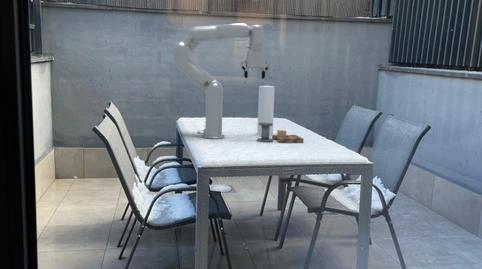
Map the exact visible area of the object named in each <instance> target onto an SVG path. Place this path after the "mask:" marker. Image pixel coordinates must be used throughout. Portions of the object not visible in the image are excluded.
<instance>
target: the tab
mask: <svg viewBox="0 0 482 269" xmlns="http://www.w3.org/2000/svg"><path fill="white" fill-rule="evenodd" d="M276 135H277V137H286V135H287V130H285V129H277V132H276Z"/></svg>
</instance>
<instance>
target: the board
mask: <svg viewBox="0 0 482 269" xmlns="http://www.w3.org/2000/svg"><path fill="white" fill-rule="evenodd" d="M271 139H273V141H276V143H278V144H304V139H305V138H303V137H301V136H299V135H297V134H286V137H277V134H273V135H272V136H271Z"/></svg>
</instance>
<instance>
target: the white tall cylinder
mask: <svg viewBox="0 0 482 269" xmlns="http://www.w3.org/2000/svg"><path fill="white" fill-rule="evenodd" d="M275 87H276V86H273V85H272V86H271V85H259V86H258V101H257V102H258V104H257V105H258V108H257V131H256V132H257V133H256V134H257V136H260V137H261V131H262V126H261V125H259V123H261V122H266V123H273V125H272V126H270V130H269V137H272V135H274V111H275V89H276V88H275Z"/></svg>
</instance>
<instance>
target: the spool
mask: <svg viewBox="0 0 482 269" xmlns="http://www.w3.org/2000/svg"><path fill="white" fill-rule="evenodd" d="M259 125H261V126H262V131H261V136H260V137H259V138H256V141H257V142H260V143H272V142H274V140H273V139H272V138H270V136H269V130H270V126H272V125H273V126H274V122H273V123H266V122H261V123H259Z"/></svg>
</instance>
